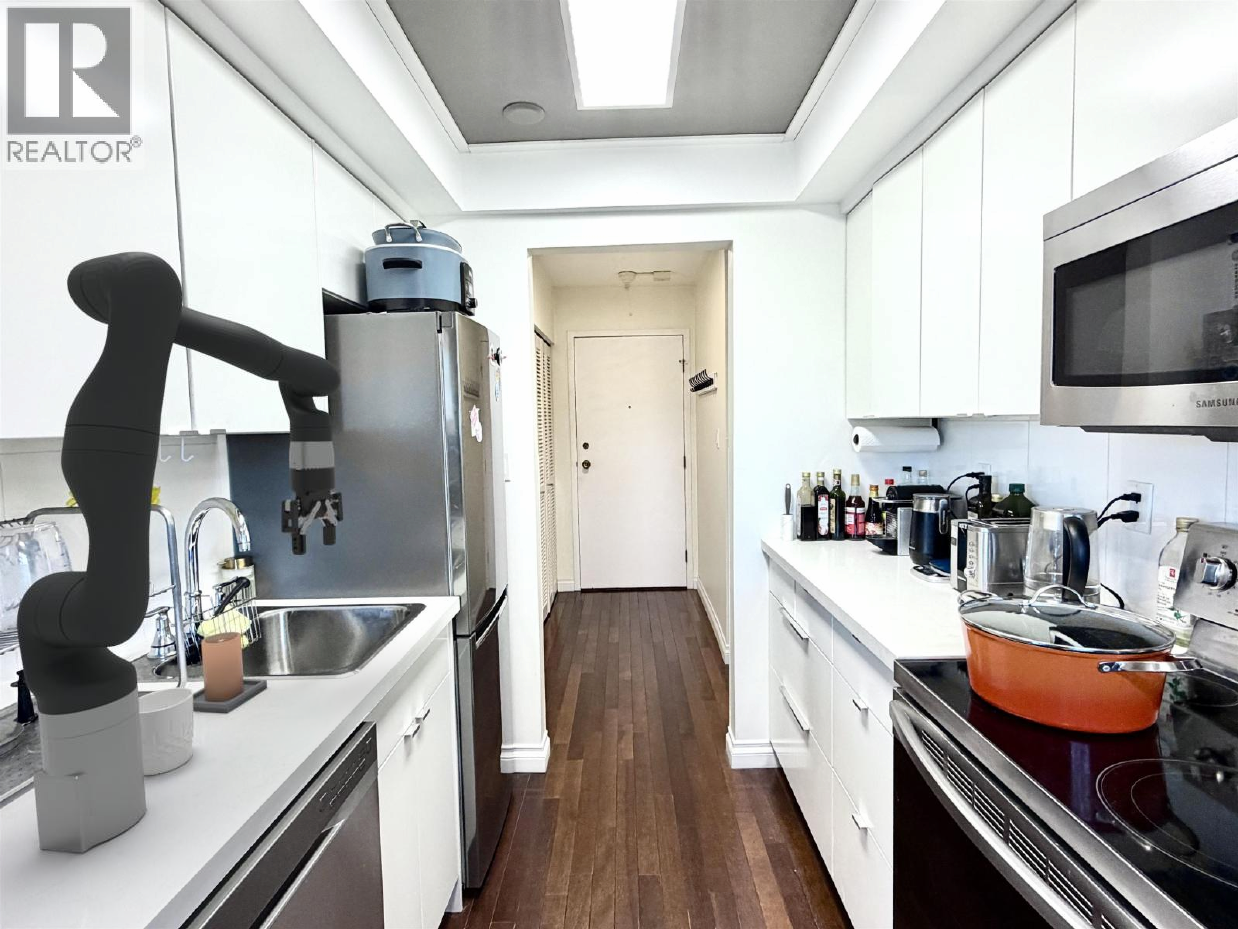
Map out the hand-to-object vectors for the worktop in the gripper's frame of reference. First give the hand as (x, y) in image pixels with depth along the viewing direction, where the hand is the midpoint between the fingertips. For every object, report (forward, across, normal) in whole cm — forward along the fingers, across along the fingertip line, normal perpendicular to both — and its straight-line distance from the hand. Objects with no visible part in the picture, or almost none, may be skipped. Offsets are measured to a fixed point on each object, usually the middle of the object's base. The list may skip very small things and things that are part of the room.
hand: (315, 549), depth 107 cm
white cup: (+28, +25, -8) cm, 38 cm away
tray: (+28, +6, -15) cm, 32 cm away
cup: (+27, +6, -15) cm, 31 cm away
